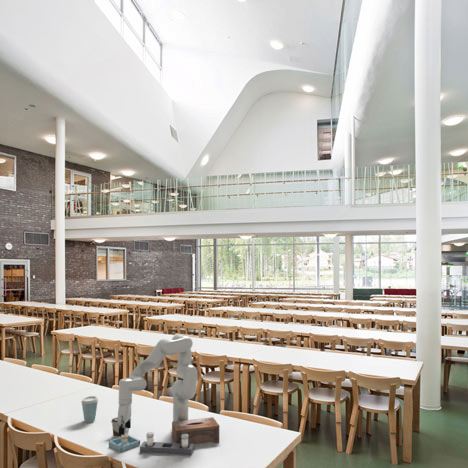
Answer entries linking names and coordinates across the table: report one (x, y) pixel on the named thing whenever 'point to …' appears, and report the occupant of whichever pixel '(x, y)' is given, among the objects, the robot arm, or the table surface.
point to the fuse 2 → (184, 440)
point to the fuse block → (167, 448)
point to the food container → (116, 427)
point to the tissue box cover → (196, 430)
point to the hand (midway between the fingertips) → (124, 431)
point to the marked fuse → (124, 438)
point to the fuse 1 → (150, 439)
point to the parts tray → (131, 444)
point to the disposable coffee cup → (89, 408)
